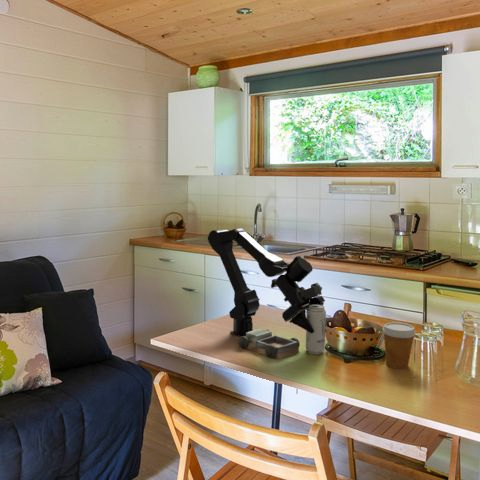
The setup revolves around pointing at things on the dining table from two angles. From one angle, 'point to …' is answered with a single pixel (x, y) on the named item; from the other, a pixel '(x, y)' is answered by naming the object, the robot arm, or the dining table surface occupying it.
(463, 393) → the dining table surface
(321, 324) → the energy drink can
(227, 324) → the dining table surface
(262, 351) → the chassis
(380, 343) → the frog figurine
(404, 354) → the disposable coffee cup
